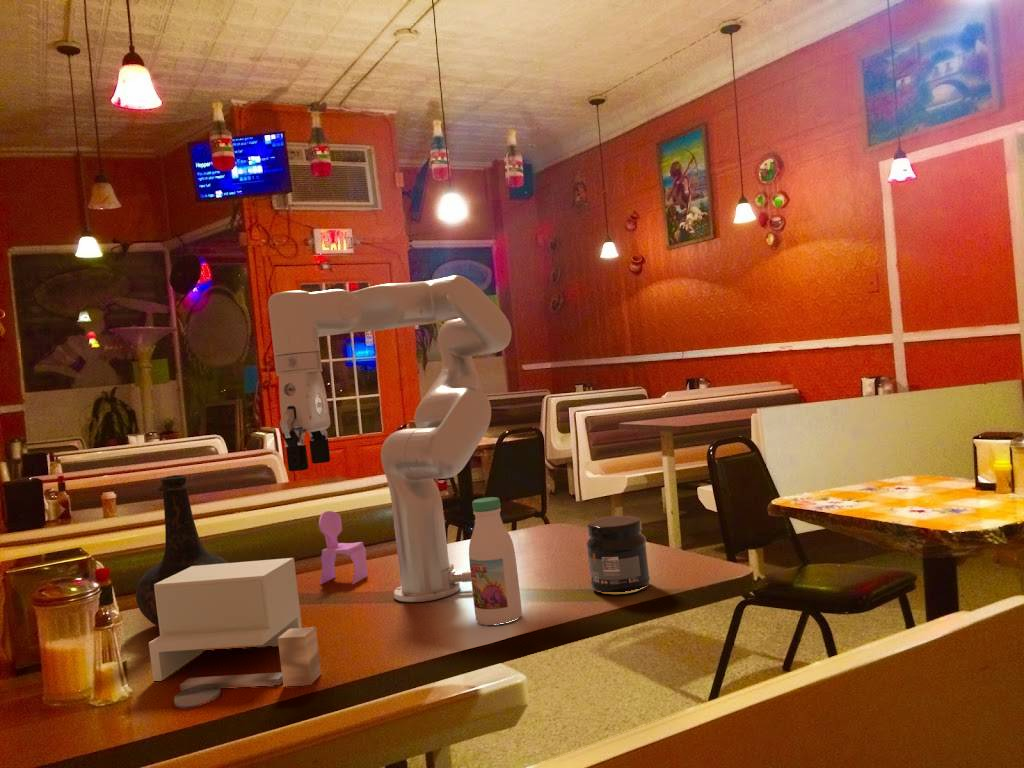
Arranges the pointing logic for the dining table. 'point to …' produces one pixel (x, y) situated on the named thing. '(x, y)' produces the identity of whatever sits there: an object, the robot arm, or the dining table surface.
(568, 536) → the dining table surface
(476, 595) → the milk bottle
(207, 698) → the token
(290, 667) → the tool
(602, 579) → the supplement container
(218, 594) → the white box on stand
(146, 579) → the glass bottle
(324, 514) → the toy chair
